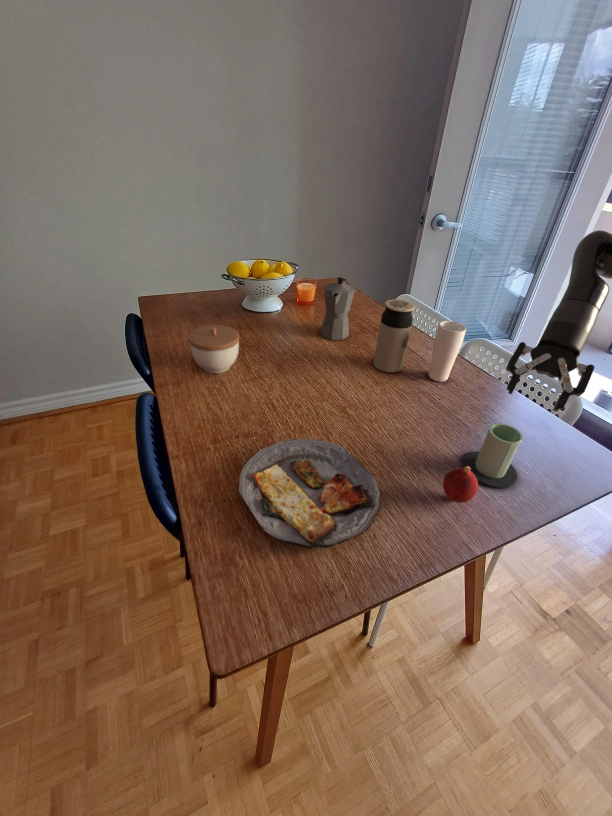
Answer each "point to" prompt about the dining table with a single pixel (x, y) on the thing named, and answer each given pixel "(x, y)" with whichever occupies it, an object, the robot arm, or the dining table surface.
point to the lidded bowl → (214, 347)
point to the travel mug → (393, 335)
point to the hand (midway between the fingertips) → (532, 401)
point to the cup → (498, 450)
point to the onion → (460, 484)
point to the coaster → (488, 481)
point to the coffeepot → (337, 309)
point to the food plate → (309, 493)
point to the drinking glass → (446, 349)
